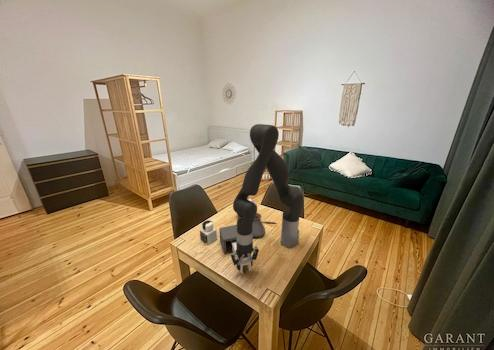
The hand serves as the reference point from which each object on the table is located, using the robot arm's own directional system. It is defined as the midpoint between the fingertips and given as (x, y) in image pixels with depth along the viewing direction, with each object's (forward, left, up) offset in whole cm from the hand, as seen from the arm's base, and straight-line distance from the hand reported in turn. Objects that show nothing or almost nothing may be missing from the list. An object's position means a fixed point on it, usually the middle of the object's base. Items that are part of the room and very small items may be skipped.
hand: (244, 267), depth 98 cm
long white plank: (0, -6, -1) cm, 6 cm away
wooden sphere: (-16, -45, -3) cm, 48 cm away
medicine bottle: (+13, -30, -3) cm, 33 cm away
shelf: (0, -21, -3) cm, 21 cm away
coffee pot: (-18, -22, -3) cm, 29 cm away
